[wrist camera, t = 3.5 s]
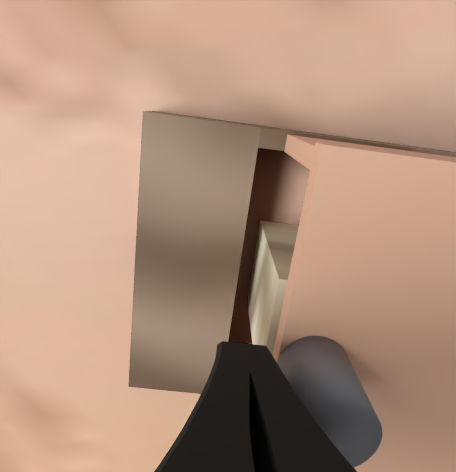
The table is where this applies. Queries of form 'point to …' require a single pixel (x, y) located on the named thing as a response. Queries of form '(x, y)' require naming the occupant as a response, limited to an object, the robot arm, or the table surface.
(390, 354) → the slide cover
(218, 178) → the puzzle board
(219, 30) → the table surface
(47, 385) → the table surface
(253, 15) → the table surface
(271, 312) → the birch block
